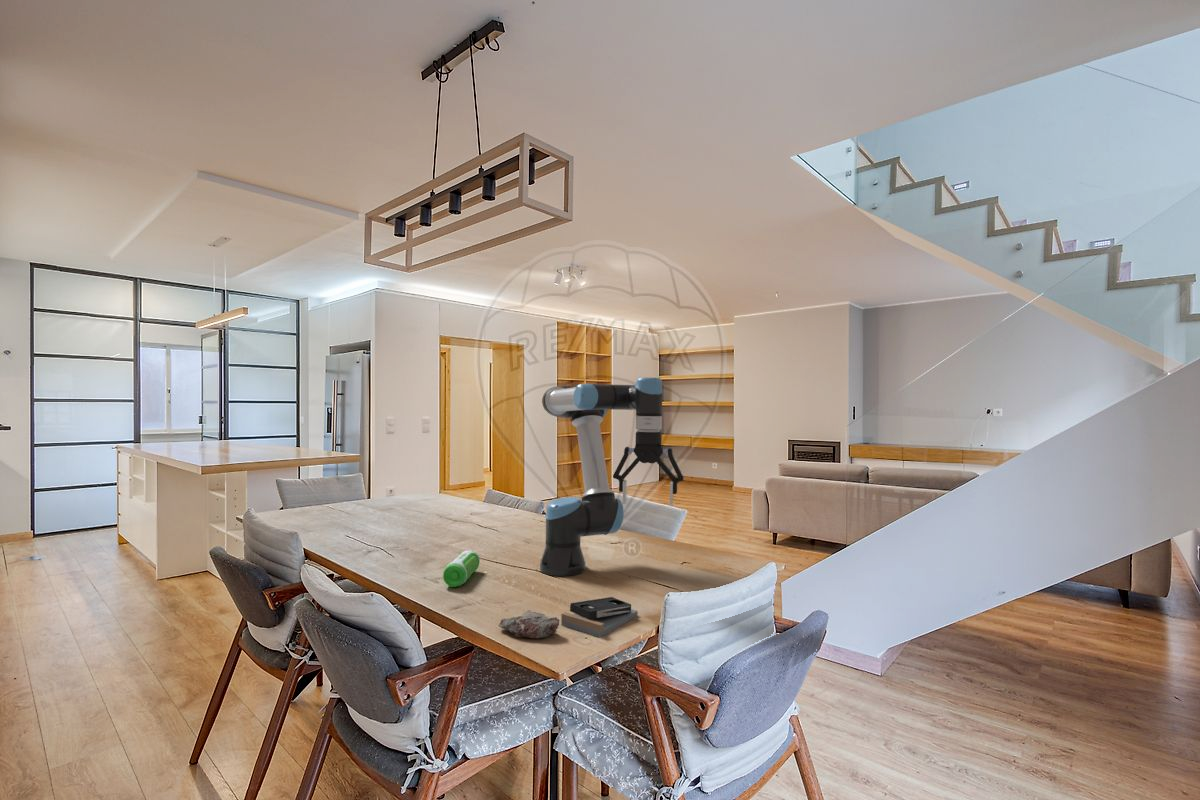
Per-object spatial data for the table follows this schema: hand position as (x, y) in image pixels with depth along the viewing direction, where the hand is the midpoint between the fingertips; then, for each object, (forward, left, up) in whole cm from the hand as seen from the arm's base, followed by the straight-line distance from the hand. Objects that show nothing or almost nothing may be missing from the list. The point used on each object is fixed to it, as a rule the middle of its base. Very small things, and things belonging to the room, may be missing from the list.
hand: (647, 504), depth 163 cm
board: (-10, -20, -27) cm, 35 cm away
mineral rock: (-26, -32, -27) cm, 49 cm away
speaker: (-58, +3, -27) cm, 64 cm away
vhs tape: (-10, -20, -25) cm, 33 cm away
